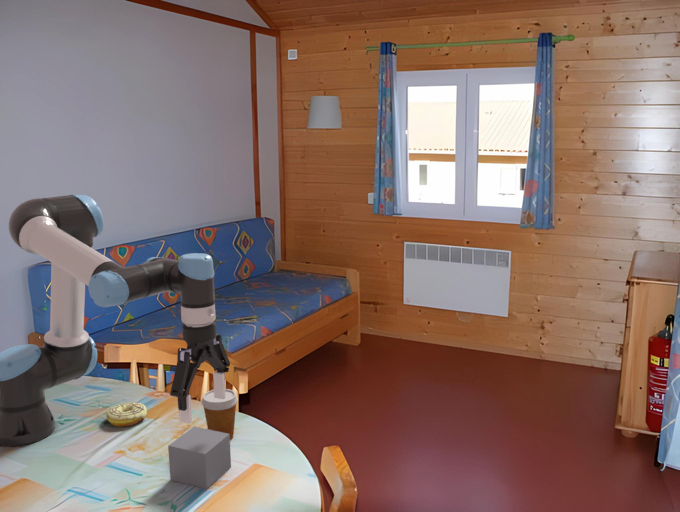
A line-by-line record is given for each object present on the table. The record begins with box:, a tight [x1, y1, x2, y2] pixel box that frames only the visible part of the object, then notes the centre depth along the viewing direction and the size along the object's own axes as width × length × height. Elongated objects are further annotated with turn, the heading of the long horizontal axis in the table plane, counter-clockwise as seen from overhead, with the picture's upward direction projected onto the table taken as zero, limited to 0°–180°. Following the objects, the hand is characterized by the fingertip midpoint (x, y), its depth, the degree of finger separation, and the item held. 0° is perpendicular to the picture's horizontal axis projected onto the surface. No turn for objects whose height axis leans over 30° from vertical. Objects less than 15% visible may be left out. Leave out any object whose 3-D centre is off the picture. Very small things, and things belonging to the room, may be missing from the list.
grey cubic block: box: [167, 426, 232, 490], centre depth 148 cm, size 10×10×9 cm
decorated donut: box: [106, 402, 148, 428], centre depth 177 cm, size 10×11×4 cm
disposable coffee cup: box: [200, 388, 239, 441], centre depth 165 cm, size 10×10×12 cm
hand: (203, 409), depth 145 cm, fingers open, 13 cm apart
